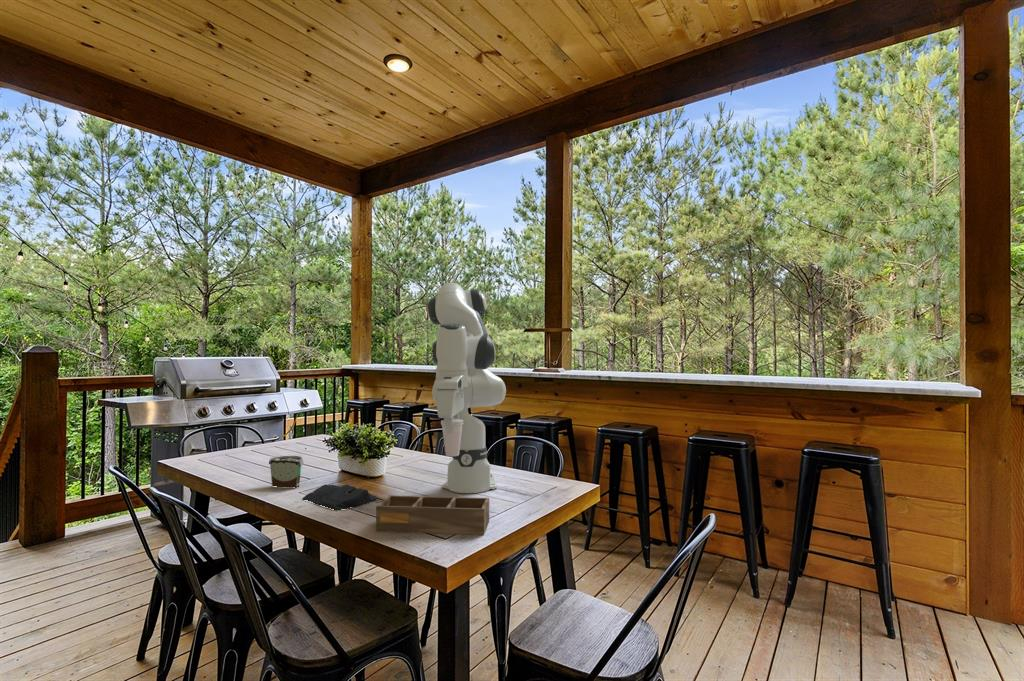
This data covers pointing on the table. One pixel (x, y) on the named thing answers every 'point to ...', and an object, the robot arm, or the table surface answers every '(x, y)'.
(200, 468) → the table surface
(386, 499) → the caddy
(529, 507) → the table surface
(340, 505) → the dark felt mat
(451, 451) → the smoothie
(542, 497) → the table surface
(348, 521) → the table surface
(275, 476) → the food container
